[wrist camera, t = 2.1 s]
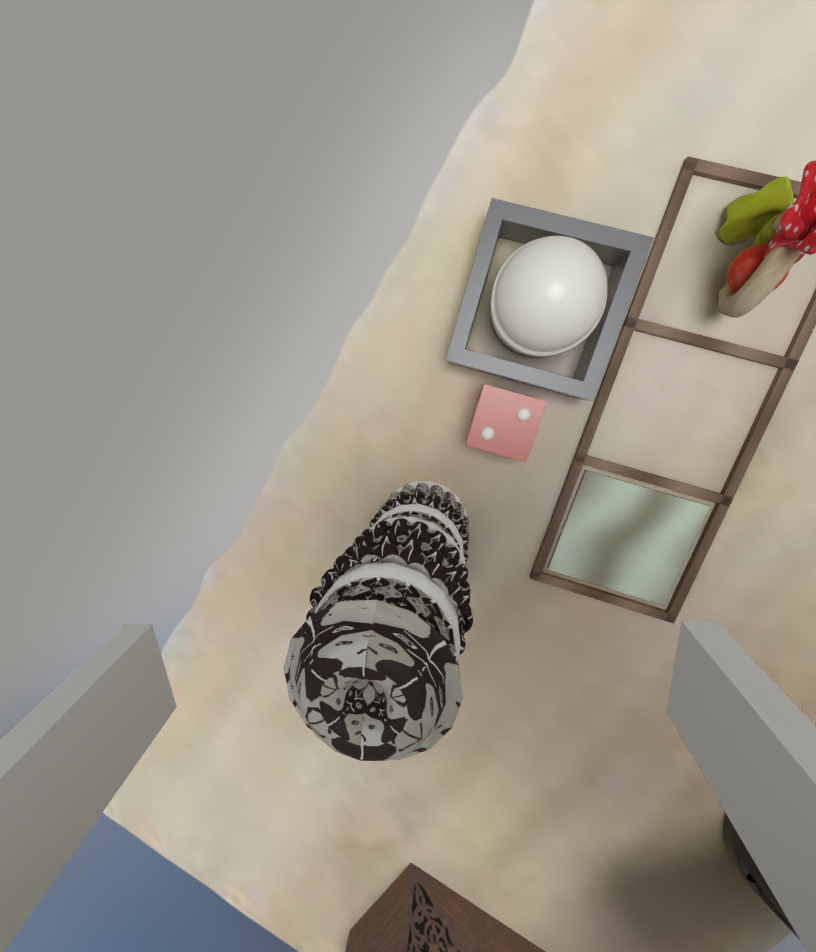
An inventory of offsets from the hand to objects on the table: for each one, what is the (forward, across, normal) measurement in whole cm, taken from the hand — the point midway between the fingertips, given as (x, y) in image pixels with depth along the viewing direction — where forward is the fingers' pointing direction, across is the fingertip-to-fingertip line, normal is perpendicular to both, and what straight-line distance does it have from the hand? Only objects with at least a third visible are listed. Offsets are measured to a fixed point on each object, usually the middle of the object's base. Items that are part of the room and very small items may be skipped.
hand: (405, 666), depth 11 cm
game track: (+29, -21, 0) cm, 36 cm away
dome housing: (+31, -8, -6) cm, 33 cm away
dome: (+29, -9, -9) cm, 32 cm away
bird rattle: (+31, -25, -11) cm, 41 cm away
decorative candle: (+30, +1, +10) cm, 31 cm away
